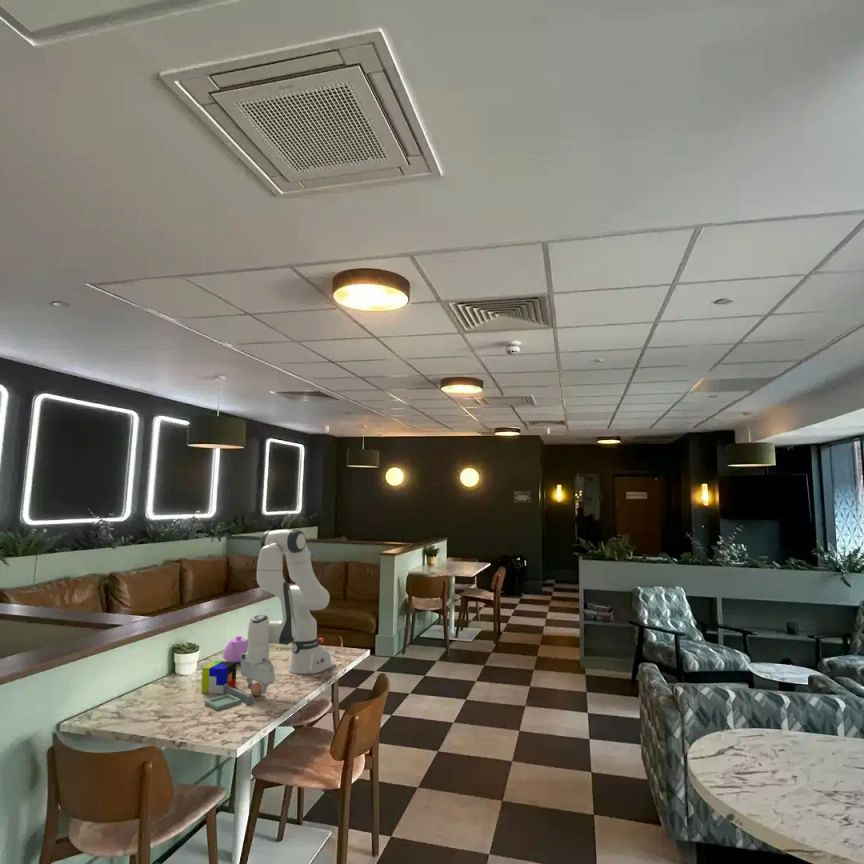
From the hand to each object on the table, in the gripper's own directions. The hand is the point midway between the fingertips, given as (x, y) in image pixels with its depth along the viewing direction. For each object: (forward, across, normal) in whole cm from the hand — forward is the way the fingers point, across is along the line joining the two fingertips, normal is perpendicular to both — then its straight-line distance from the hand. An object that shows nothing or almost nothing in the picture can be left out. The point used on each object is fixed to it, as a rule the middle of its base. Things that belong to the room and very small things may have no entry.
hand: (257, 691), depth 233 cm
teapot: (+2, +50, -20) cm, 54 cm away
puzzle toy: (+2, +20, +6) cm, 21 cm away
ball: (-1, 0, 0) cm, 1 cm away
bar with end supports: (+2, +3, +7) cm, 8 cm away
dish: (+2, +2, +14) cm, 14 cm away
